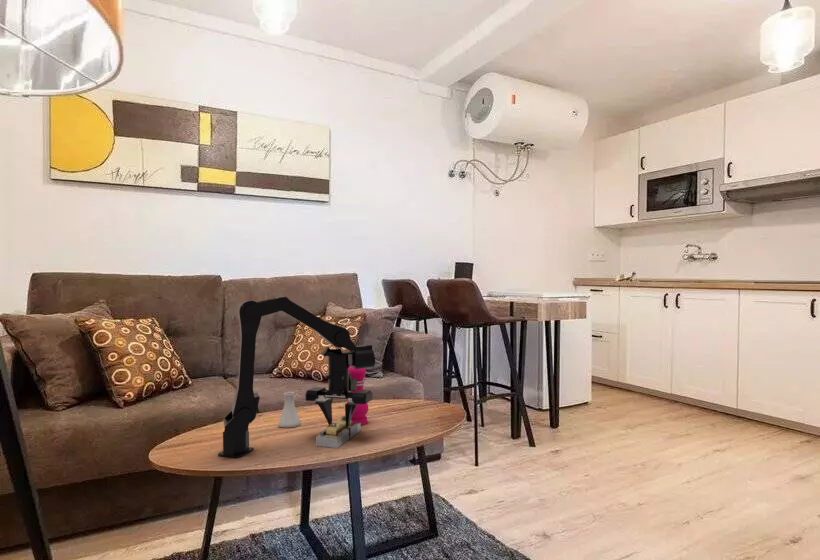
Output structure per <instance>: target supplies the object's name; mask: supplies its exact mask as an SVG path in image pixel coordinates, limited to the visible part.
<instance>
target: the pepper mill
mask: <svg viewBox="0 0 820 560" xmlns="http://www.w3.org/2000/svg"><path fill="white" fill-rule="evenodd" d="M348 368H349V373H350V374H351V378H353V379H355V380H357V387H356V391H357V390H359V389H361V390H364V385H365V384H366V383H365V379H364V378H365V377H366V375H367V371H366V368H364V369H354V368H353V366H350V365H349V366H348ZM349 392H353V393H354V392H355V391H349ZM348 402H349V401H348V400H347V401H346V403H348ZM368 412H369V404H368V403H366V404H358V405H357V406H356V408H355V410H354V413H353V416H352V419H351V422H361V426H363V425H366V424H367V423H368V417H367V413H368Z"/></svg>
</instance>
